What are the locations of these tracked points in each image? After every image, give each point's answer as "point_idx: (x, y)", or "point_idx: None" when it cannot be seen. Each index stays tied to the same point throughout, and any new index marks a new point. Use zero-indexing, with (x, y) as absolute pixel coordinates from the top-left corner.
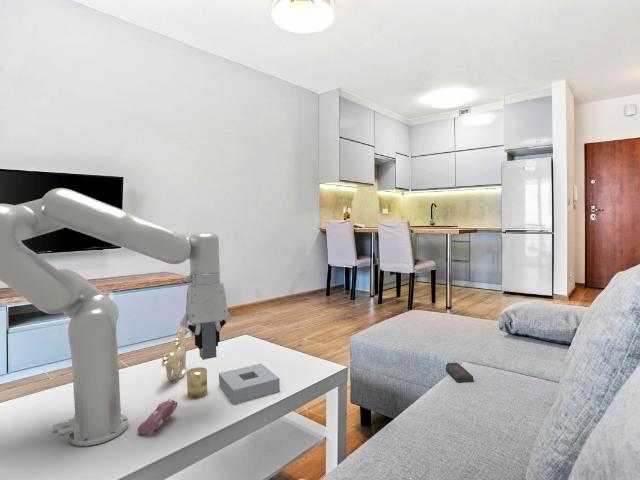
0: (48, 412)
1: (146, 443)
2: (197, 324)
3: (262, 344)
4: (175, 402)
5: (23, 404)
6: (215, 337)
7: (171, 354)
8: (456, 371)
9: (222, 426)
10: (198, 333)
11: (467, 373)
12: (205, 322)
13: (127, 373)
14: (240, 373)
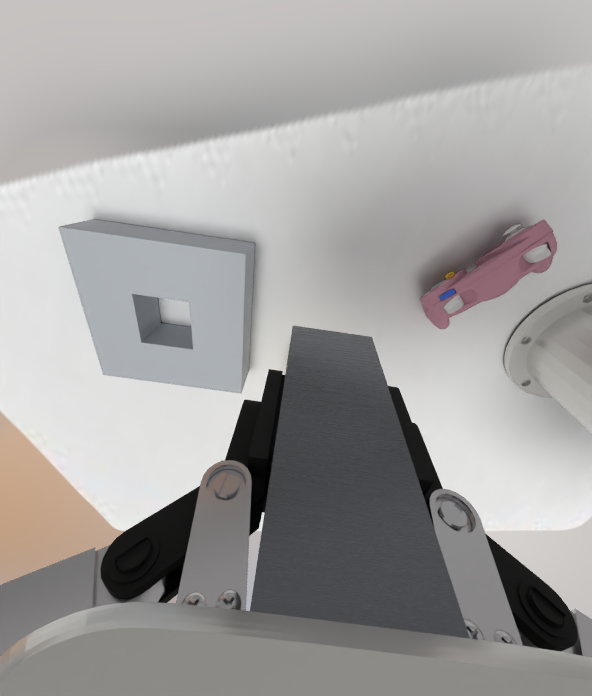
0: (565, 470)
1: (556, 195)
2: (503, 637)
3: (86, 486)
4: (441, 290)
5: (566, 513)
6: (283, 413)
7: None
8: None
9: (345, 117)
10: (436, 503)
11: None
12: (448, 650)
13: None
14: (183, 353)
